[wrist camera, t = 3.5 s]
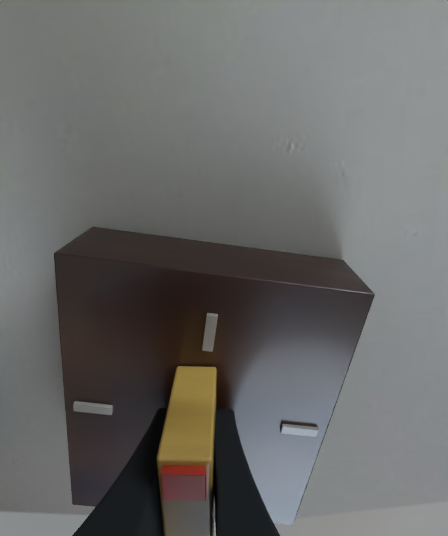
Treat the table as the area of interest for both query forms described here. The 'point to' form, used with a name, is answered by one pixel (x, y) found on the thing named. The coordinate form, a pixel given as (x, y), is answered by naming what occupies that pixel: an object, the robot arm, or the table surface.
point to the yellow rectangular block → (188, 454)
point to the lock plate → (203, 350)
